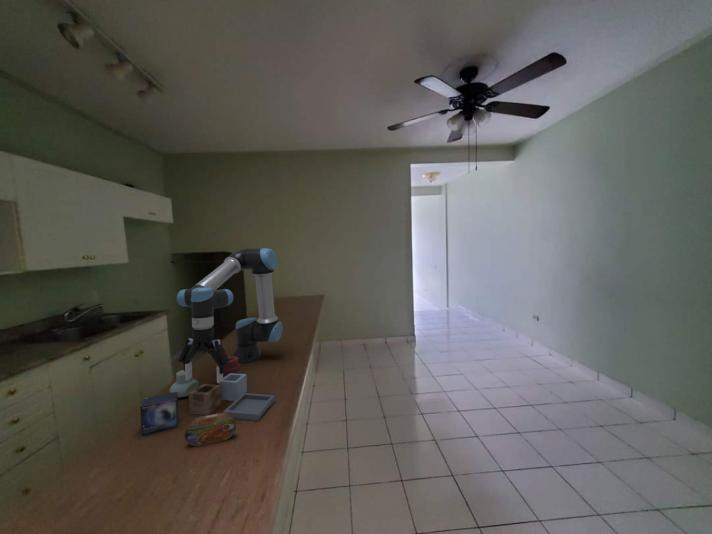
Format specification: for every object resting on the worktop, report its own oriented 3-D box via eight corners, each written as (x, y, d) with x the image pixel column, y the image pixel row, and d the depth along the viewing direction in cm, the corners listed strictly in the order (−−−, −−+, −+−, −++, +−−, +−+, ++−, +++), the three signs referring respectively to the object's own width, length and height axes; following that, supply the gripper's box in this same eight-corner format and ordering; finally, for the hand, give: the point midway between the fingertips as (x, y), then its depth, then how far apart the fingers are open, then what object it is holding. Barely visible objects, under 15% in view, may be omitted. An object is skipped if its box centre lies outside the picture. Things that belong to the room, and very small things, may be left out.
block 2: (230, 390, 126) (229, 373, 126) (246, 391, 125) (246, 374, 125) (219, 399, 118) (218, 381, 118) (236, 401, 117) (236, 382, 117)
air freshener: (186, 387, 129) (185, 366, 129) (202, 389, 128) (201, 367, 127) (166, 399, 119) (165, 376, 118) (182, 401, 117) (181, 378, 116)
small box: (140, 436, 95) (139, 406, 94) (144, 426, 100) (143, 397, 100) (177, 427, 100) (176, 398, 99) (179, 418, 105) (178, 390, 105)
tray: (243, 398, 119) (243, 393, 119) (274, 401, 117) (274, 395, 117) (223, 418, 105) (223, 411, 105) (258, 421, 103) (258, 414, 103)
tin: (184, 448, 89) (183, 423, 88) (187, 442, 92) (186, 417, 91) (236, 438, 93) (235, 414, 93) (237, 433, 96) (236, 409, 96)
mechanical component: (227, 389, 127) (213, 384, 132) (245, 380, 136) (231, 376, 141) (226, 362, 127) (212, 358, 131) (244, 355, 135) (230, 352, 140)
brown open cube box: (203, 402, 116) (203, 383, 116) (221, 404, 115) (220, 385, 115) (189, 413, 108) (188, 393, 108) (208, 415, 107) (207, 394, 107)
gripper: (167, 328, 108) (168, 382, 109) (226, 330, 104) (227, 386, 105) (182, 323, 115) (183, 374, 116) (237, 326, 112) (238, 378, 112)
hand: (204, 380), depth 111 cm, fingers open, 13 cm apart
